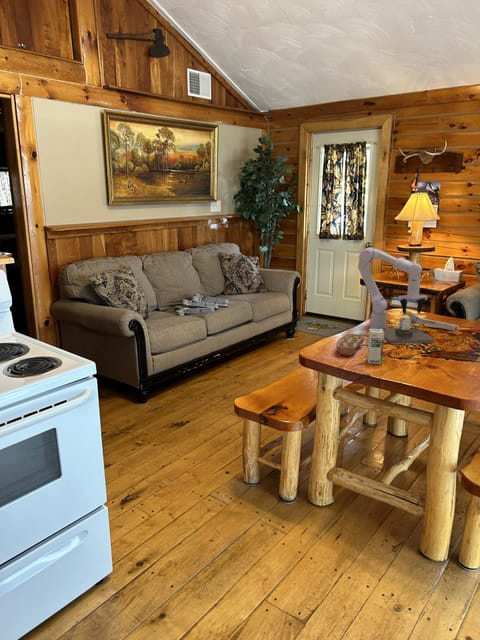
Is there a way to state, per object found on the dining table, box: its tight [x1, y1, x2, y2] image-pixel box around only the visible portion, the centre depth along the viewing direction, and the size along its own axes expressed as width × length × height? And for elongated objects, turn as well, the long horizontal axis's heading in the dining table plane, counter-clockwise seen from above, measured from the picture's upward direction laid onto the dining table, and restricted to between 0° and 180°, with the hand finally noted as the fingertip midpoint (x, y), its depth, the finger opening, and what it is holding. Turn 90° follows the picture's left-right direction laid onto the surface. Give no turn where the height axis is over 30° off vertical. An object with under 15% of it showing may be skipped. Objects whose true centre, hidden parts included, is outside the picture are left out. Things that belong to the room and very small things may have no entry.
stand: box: [376, 326, 435, 344], centre depth 248 cm, size 22×22×4 cm
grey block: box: [398, 317, 411, 330], centre depth 247 cm, size 4×4×5 cm
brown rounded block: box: [335, 333, 365, 357], centre depth 227 cm, size 23×10×5 cm, turn 153°
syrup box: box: [366, 328, 385, 365], centre depth 211 cm, size 6×6×14 cm
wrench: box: [401, 310, 461, 332], centre depth 263 cm, size 8×2×30 cm
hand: (411, 313), depth 253 cm, fingers open, 7 cm apart
